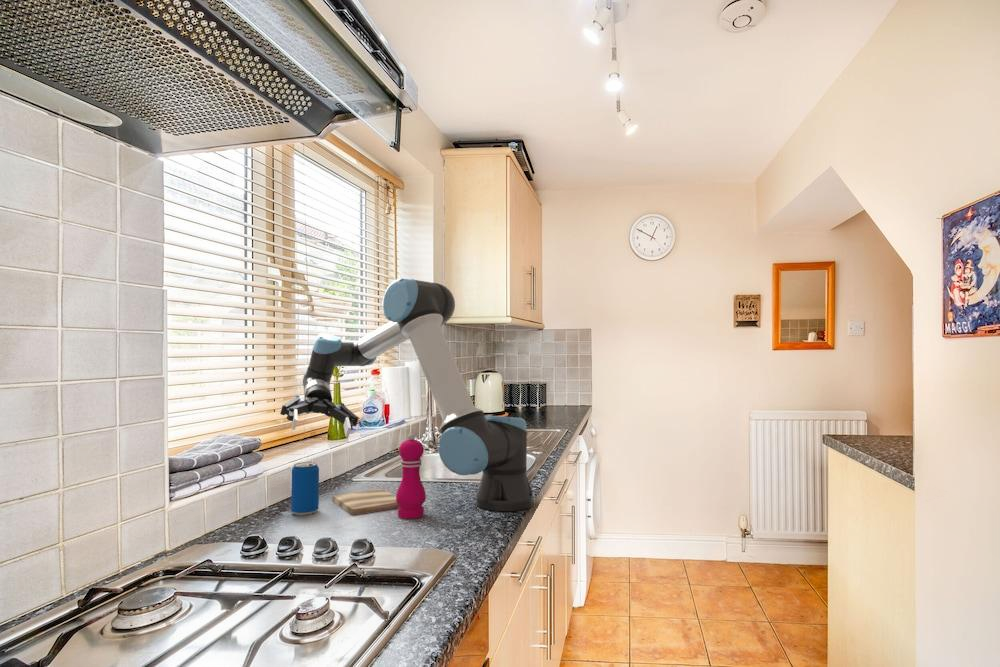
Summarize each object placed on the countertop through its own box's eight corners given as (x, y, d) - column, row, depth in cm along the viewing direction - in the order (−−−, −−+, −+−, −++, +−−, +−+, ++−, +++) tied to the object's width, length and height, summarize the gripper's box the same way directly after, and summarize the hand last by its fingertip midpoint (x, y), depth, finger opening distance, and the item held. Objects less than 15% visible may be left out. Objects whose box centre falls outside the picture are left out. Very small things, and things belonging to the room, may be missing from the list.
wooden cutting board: (405, 506, 144) (405, 500, 144) (352, 515, 137) (352, 509, 137) (381, 493, 158) (382, 488, 158) (332, 501, 150) (332, 495, 150)
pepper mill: (419, 520, 132) (420, 435, 133) (391, 518, 134) (391, 435, 135) (429, 512, 139) (430, 431, 140) (402, 510, 141) (402, 431, 142)
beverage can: (323, 512, 139) (323, 463, 140) (298, 517, 135) (299, 467, 135) (310, 507, 144) (311, 460, 144) (286, 512, 139) (287, 464, 139)
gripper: (356, 414, 169) (365, 448, 150) (269, 400, 159) (267, 434, 140) (363, 392, 167) (373, 422, 148) (276, 376, 157) (274, 407, 138)
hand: (322, 428), depth 144 cm, fingers open, 13 cm apart
